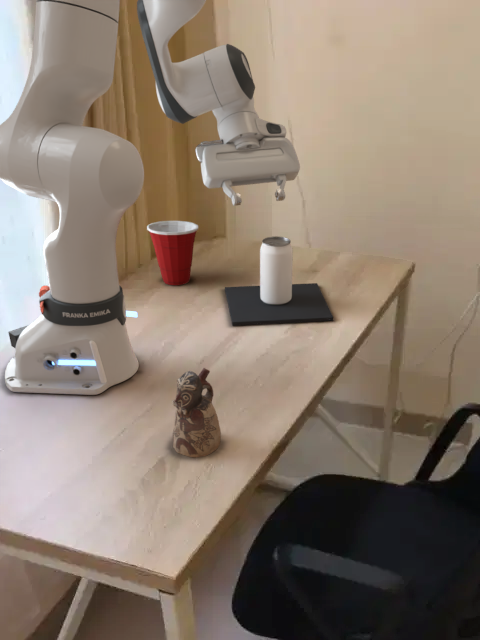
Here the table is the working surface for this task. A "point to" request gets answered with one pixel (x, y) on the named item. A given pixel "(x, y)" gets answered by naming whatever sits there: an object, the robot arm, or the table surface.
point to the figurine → (195, 416)
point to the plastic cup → (174, 249)
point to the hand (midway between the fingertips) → (259, 201)
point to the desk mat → (277, 306)
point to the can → (276, 270)
